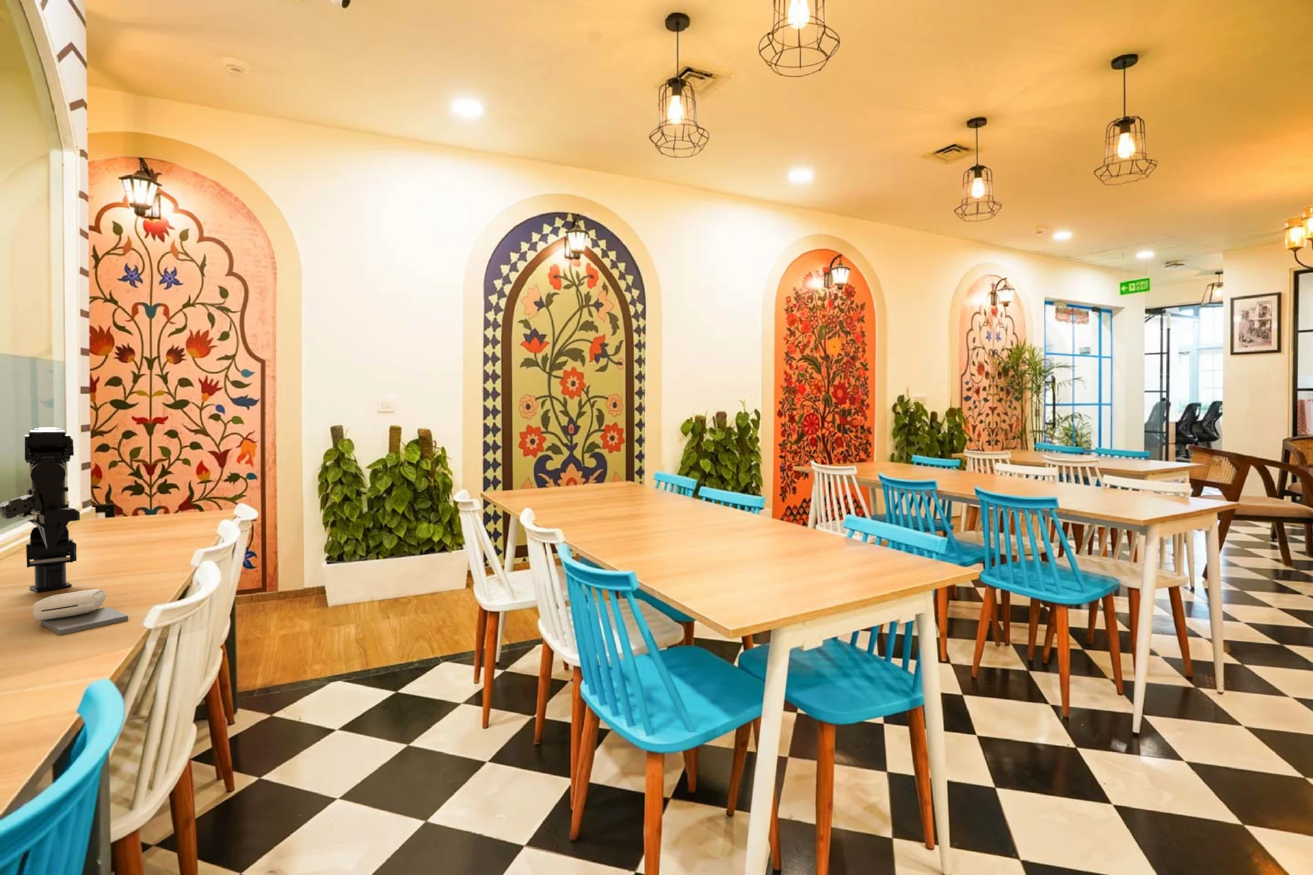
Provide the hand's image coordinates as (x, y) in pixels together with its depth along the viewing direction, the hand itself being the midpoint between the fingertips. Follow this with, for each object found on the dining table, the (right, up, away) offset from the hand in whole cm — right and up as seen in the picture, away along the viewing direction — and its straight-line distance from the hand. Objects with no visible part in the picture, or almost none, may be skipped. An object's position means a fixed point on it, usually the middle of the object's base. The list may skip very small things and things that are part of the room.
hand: (50, 548), depth 148 cm
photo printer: (+13, -10, -7) cm, 18 cm away
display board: (+22, -13, -15) cm, 30 cm away
